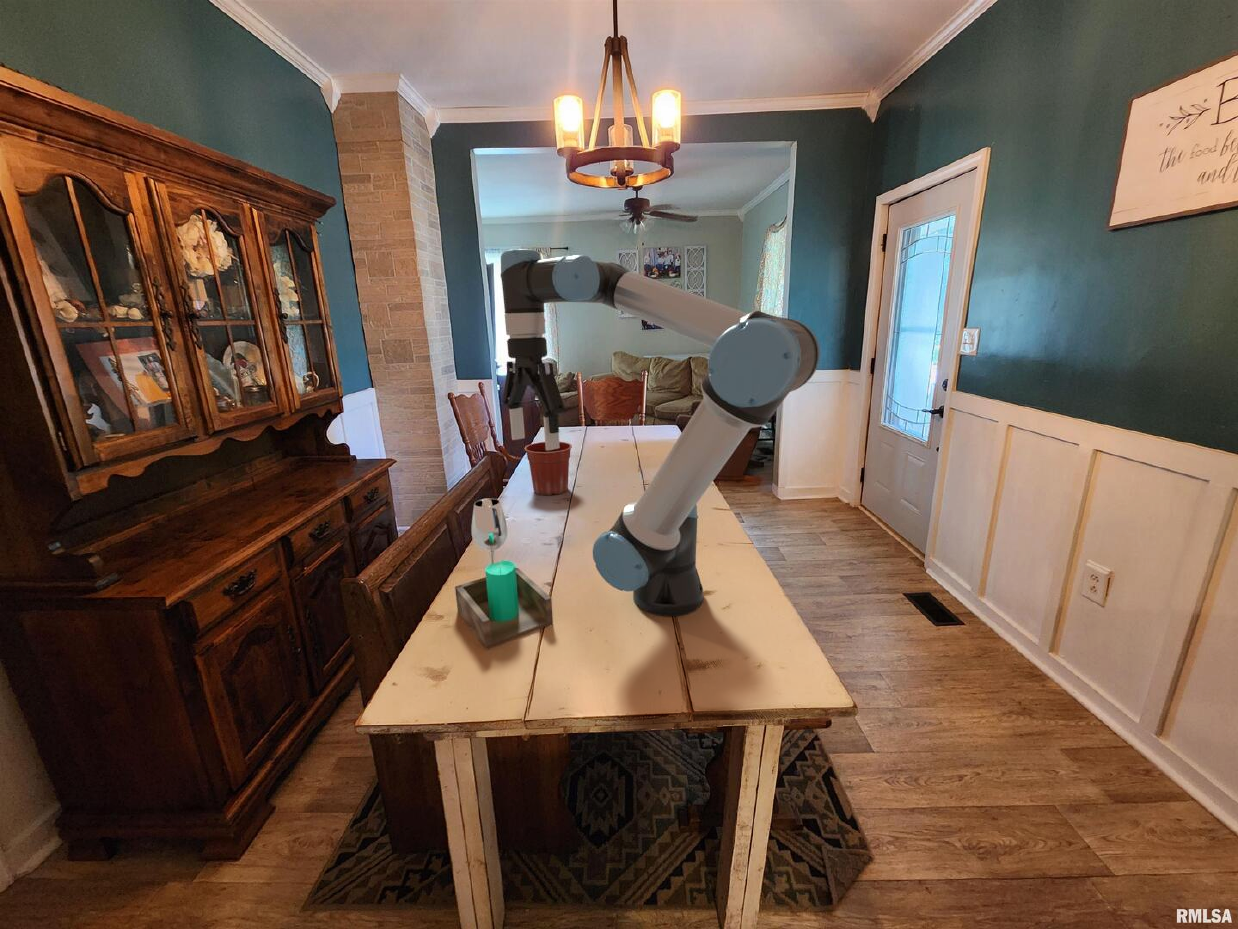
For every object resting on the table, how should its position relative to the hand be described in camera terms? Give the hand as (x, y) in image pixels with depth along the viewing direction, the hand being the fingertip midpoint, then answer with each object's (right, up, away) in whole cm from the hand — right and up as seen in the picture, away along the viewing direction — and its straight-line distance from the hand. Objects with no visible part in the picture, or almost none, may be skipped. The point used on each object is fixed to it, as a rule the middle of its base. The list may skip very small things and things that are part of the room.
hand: (534, 443), depth 105 cm
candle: (-6, -35, +1) cm, 36 cm away
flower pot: (-7, -14, +79) cm, 80 cm away
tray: (-6, -36, +1) cm, 36 cm away
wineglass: (-12, -32, +14) cm, 37 cm away
